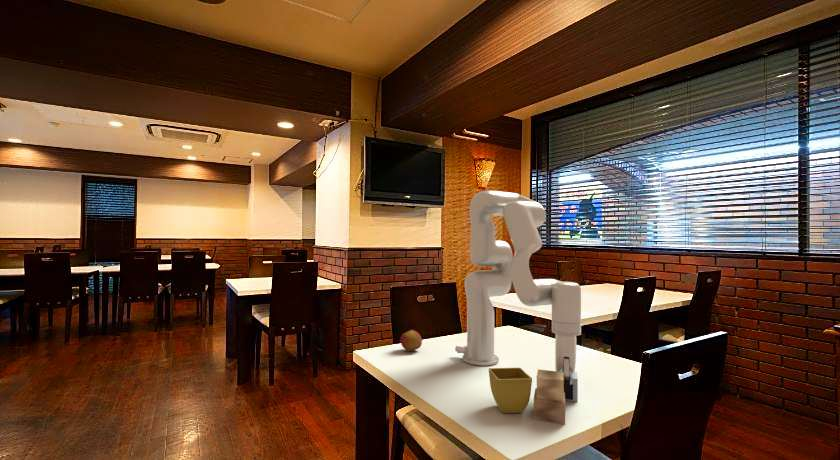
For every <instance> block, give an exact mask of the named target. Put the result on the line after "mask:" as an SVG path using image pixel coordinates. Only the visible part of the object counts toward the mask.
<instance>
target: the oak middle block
mask: <svg viewBox="0 0 840 460" xmlns="http://www.w3.org/2000/svg"><path fill="white" fill-rule="evenodd" d="M536 373H537V374H536V388H537V398H538V399H545V400H552V401H559V402H564V378H563V372H557V371H556V370H555V371H554V370H547V369H546V370H545V369H538V368H537V372H536Z"/></svg>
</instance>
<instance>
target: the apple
mask: <svg viewBox="0 0 840 460" xmlns="http://www.w3.org/2000/svg"><path fill="white" fill-rule="evenodd" d="M399 340H400V344H401V346H402V348H403V349H404V350H405V351H407V352H413V351H416V350H417V349H420V347H421V346H422V344H423V339H422V336H421V334H420V333H419V332H418V331H416V330H415V329H410V330H408V331H406V332H405V333H404V332H403V333H402V334H401V336H400V338H399Z"/></svg>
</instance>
